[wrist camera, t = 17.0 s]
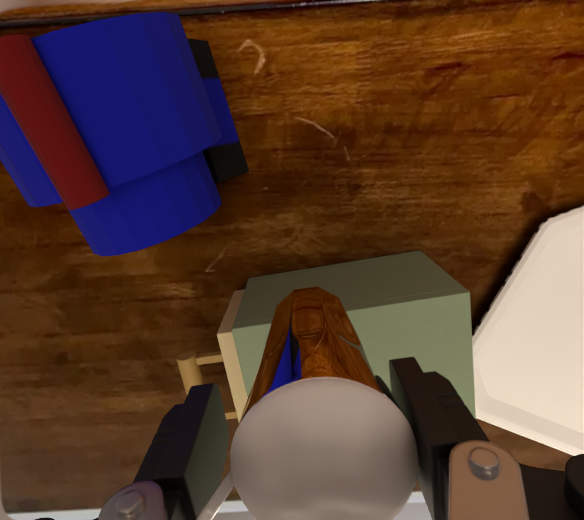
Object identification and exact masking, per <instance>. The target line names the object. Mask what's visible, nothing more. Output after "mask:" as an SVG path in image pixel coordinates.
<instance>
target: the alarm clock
mask: <svg viewBox="0 0 584 520" xmlns="http://www.w3.org/2000/svg"><path fill="white" fill-rule="evenodd" d="M0 160H1V162H2V163H3V165H4V166H5V168H6V170H7V171H8V173H9V174H10V176H11V178H12V179H13V181H14V182H15V184H16V186H17V187H18V189H19V190H20V192H21V194H22V195H23V197H24V198H25V200H26V202H27V203H28V205H29V206H32V207H41V206H47V205H52V204H57V203H62V202H64V204H65V206H66V207H67V209H68V210H69V211H70V213H71V215H72V217H73V218H74V220H75V222H76V223H77V225H78V227H79V229H80V230H81V232H82V234H83V236H84V237H85V239H86V241H87V242H88V244H89V246H90V248H91V249H92V251H93V253H94V254H97V255H100V256H113V255H121V254H125V253H129V252H133V251H138V250H141V249H144V248H147V247H149V246H152V245H155V244H158V243H161V242H163V241H166V240H168V239H170V238H172V237H174V236H177V235H179V234H181V233H183V232H185V231H187V230H189V229H191V228H192V227H194V226H196V225H197V224H199V223H201V222H203V221H204V220H205V219H207V218H208V217H209V216H211V215H212V214H213V213H214V212H216V210H217V209H218V208H219V206H220V205H221V198H220V195H219V193H218V190H217V188H216V185H215V183H217V182H220V181H223V180H226V179H229V178H232V177H234V176H237V175H240V174H243V173H245V172H248V171H249V170H248V167H247V163H246V160H245V157H244V154H243V151H242V148H241V145H240V141H239V138H238V135H237V132H236V129H235V126H234V123H233V120H232V116H231V113H230V110H229V107H228V104H227V101H226V98H225V95H224V91H223V88H222V85H221V82H220V79H219V76H218V73H217V69H216V66H215V63H214V60H213V57H212V54H211V51H210V48H209V44H208V41H203V40H194V39H187V37H186V35H185V32H184V29H183V26H182V23H181V21H180V18H179V15H177V14H172V13H166V12H158V13H140V14H133V15H127V16H121V17H115V18H109V19H102V20H98V21H93V22H89V23H85V24H81V25H77V26H73V27H68V28H64V29H60V30H56V31H52V32H49V33H46V34H43V35H40V36H36V37H33V38H29V36H28V35H25V34H17V35H9V36H3V37H0Z"/></svg>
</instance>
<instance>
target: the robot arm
mask: <svg viewBox="0 0 584 520" xmlns="http://www.w3.org/2000/svg"><path fill="white" fill-rule="evenodd" d="M389 372H390V383H391V393H392V395H393V396H394V398H395V400H396V401H397V403H398V405H399V407H400V408H401V410H402V412H403V413H404V415H405V417H406V419H407V421H408V422H409V424H410V426H411V428H412V431H413V433H414V436H415V439H416V443H417V449H418V474H417V480H418V482H419V485H420V488H421V490H422V493H423V496H424V498H425V501H426V504H427V506H428V509H429V512H430V514H431V517H432V519H433V520H584V454H579V455H576V456H573V457H572V458H570V459H569V460H568V461H567V463H566V466H565V472H564V471H557V470H550V469H542V468H535V467H530V466H526V465H523V464H520V463H518V462H517V460H516V459H515V457H514V456H513V455H512V454H511V453H510V452H508V451H507V450H506V449H504V448H502V447H501V446H499V445H496V444H494V443H491V442H490V441H489V439H488V438H487V436H486V435H485V433H484V432H483V430H482V429H481V427H480V426H479V424H478V423H477V421H476V420H475V418H474V417H473V415H472V414H471V412H470V411H469V409H468V408H467V406H466V405H464V402H463V400H462V399H461V397H460V396H459V395H458V394H457V391H456V390H455V388H454V387H453V385H452V384H451V382H450V380H448V379H447V378H445V377H444V376H442V375H441V374H439V373H438V372H436V371H432V372H423V371H422V369H421V367H420V365H419V364H418V362H417V360H416V359H415V357H407V358H399V359H392V360H389ZM228 442H229V433H228V424H227V420H226V416H225V412H224V407H223V403H222V399H221V395H220V391H219V387H218V385H217V383H210V384H202V385H195V386H191V388H190V390H189V392H188V395H187V397H186V400H185V402H184V404H178V405H175V406H174V407H173V408H172V409H171V410H170V411H169V412H168V413H167V414H166V415H165V416H164V417H163V419H162V421H161V424H160V426H159V428H158V430H157V433H156V434H155V436H154V438H153V441H152V444H151V445H150V447H149V449H148V451H147V453H146V456H145V458H144V460H143V462H142V464H141V466H140V468H139V471H138V473H137V475H136V477H135V479H134V481H133V483H132V484H130V485H128V486H126V487H124V488H122V489H121V490H119V491H118V492H116V493H115V494H114V495H113V496H112V497H111V498H110V499H109V500H108V501H107V502H106V504H105V505H104V506H103V508H102V510H101V512H100V514H99V517H98V518H96V519H94V520H196V519H197V517H198V516H199V514H200V513H201V511H202V510H203V508H204V507H205V505H206V504H207V503H208V501H209V500H210V498H211V497H212V495H213V494H214V492H215V491H216V489H217V488H218V486H219V485H220V482H221V477H222V473H223V468H224V463H225V458H226V454H227V449H228ZM35 520H54V519H52V518H39V519H35ZM212 520H213V519H212Z"/></svg>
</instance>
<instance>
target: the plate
mask: <svg viewBox="0 0 584 520" xmlns="http://www.w3.org/2000/svg"><path fill="white" fill-rule="evenodd" d="M472 348H473V369H474V391H475V412H476V418H477V419H480V420H483V421H485V422H488V423H490V424H493V425H496V426H498V427H501V428H503V429H506V430H509V431H511V432H514V433H516V434H519V435H522V436H524V437H527V438H529V439H532V440H535V441H537V442H540V443H542V444H545V445H548V446H550V447H553V448H555V449H558V450H561V451H563V452H566V453H568V454H571V455H574V456H576V455H579V454H584V205H583V206H580V207H577V208H574V209H572V210H569V211H566V212H563V213H561V214H558V215H555V216H553V217H550V218H547V219H546V220H545V221H543V222H542V223H541V224H540V225H539V227H538V228H537V230H536V231H535V233H534V235H533V236H532V238H531V240H530V241H529V243H528V244H527V246H526V248H525V249H524V251H523V252H522V254H521V256H520V257H519V259H518V261H517V262H516V264H515V265H514V267H513V269H512V270H511V272H510V274H509V275H508V277H507V278H506V280H505V282H504V283H503V285H502V286H501V288H500V290H499V291H498V293H497V295H496V296H495V298H494V299H493V301H492V303H491V304H490V306H489V307H488V309H487V311H486V312H485V314H484V316H483V317H482V319H481V320H480V322H479V324H478V325H477V327H476V328H475V330H474V332H473V333H472Z"/></svg>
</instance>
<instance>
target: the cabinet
mask: <svg viewBox="0 0 584 520" xmlns="http://www.w3.org/2000/svg"><path fill="white" fill-rule="evenodd" d="M316 286H318V287H320V288H322V289H324V290H326V291H328V292H330V293H332V294H334V295H336V296H338V297H339V299H340V301H341V303H342V305H343V307H344V309H345V311H346V313H347V315H348V317H349V319H350V321H351V323H352V325H353V327H354V329H355V331H356V333H357V335H358V337H359V338H360V340H361V342H362V344H363V346H364V348H365V350H366V351H367V353H368V355H369V356H370V358H371V360H372V361H373V363H374V364H375V366H376V367H377V369H378V371H379V372H380V374H381V376H382V377H383V379H384V381H385V383H386V384H387V386H388V388H389V389H390V391H391V383H390V372H389V360H392V359H399V358H407V357H415V359H416V360H417V362H418V364H419V365H420V367H421V369H422V371H423V372H432V371H436V372H438V373H439V374H441V375H442V376H444V377H445V378H447V379H448V380H450V382H451V384H452V385H453V387H454V388H455V390H456V391H457V394H458V395H459V396H460V397H461V399H462V400H463V402H464V405H466V406H467V408H468V409H469V411H470V412H471V414H472V415H473V417H474V418H475V420H476V412H475V391H474V369H473V348H472V326H471V305H470V292H469V291H468V290H467V289H466V288H464V287H463V286H462V285H461V284H459V283H458V282H457V281H456V280H455V279H453V278H452V277H451V276H450V275H449V274H448V273H446V272H445V271H444V270H443V269H442V268H440V267H439V266H438V265H437V264H436V263H435V262H433V261H432V260H431V259H430V258H429V257H427V256H426V255H425V254H424V253H423V252H422V251H421V250H419V251H413V252H407V253H401V254H394V255H388V256H382V257H376V258H370V259H364V260H357V261H351V262H345V263H339V264H333V265H327V266H321V267H314V268H308V269H302V270H296V271H290V272H284V273H277V274H271V275H265V276H259V277H253V278H248V282H247V285H246V288H245V291H244V294H243V297H242V300H241V303H240V306H239V309H238V312H237V315H236V318H235V321H234V324H233V326H232V334H233V338H234V342H235V347H236V351H237V355H238V359H239V363H240V368H241V372H242V376H243V380H244V384H245V389H246V393H247V397H248V396H249V393H250V390H251V387H252V384H253V382H254V379H255V376H256V373H257V370H258V367H259V364H260V361H261V358H262V355H263V351H264V348H265V344H266V341H267V337H268V334H269V330H270V327H271V323H272V319H273V316H274V312H275V309H276V306H277V304H278V303H280V302H281V301H282V300H283V299H284V298H285V297H286V296H287V295H288V294H289V293H291V292H292V291H293V290H294V289H301V288H309V287H316Z"/></svg>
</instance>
